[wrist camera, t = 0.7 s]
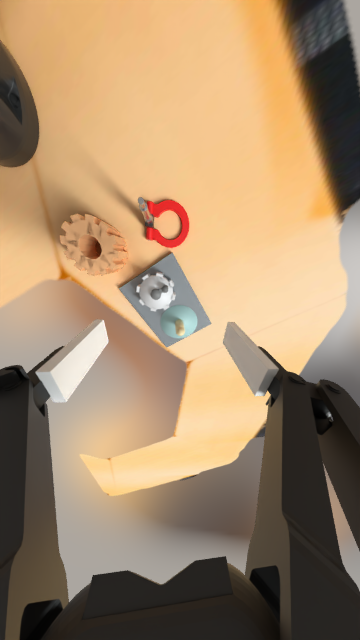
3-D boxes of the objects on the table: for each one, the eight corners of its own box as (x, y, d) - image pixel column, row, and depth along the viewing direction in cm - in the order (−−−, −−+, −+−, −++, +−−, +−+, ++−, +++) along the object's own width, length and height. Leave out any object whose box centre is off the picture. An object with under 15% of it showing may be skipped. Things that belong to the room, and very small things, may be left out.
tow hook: (191, 206, 28) (146, 197, 27) (209, 171, 17) (133, 152, 15) (185, 250, 32) (146, 244, 30) (197, 247, 20) (135, 237, 19)
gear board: (120, 287, 34) (108, 294, 27) (172, 252, 31) (172, 251, 25) (166, 345, 43) (165, 361, 36) (210, 322, 40) (218, 334, 33)
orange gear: (70, 240, 29) (47, 235, 23) (105, 211, 27) (88, 199, 22) (104, 280, 33) (91, 285, 28) (136, 257, 31) (129, 257, 26)
